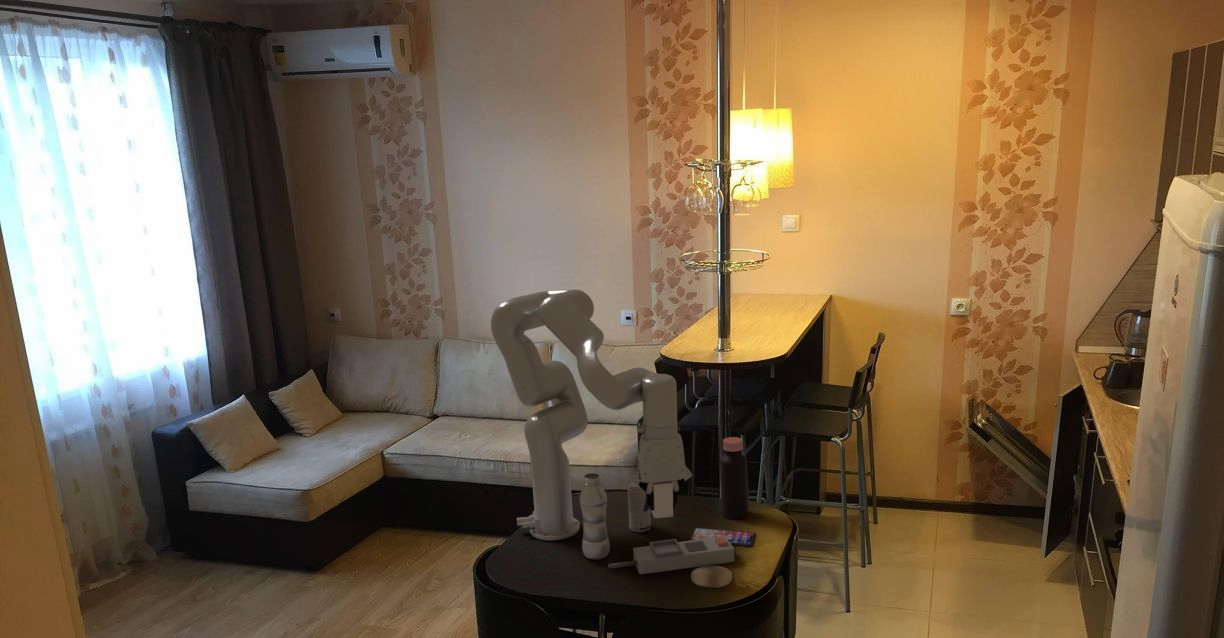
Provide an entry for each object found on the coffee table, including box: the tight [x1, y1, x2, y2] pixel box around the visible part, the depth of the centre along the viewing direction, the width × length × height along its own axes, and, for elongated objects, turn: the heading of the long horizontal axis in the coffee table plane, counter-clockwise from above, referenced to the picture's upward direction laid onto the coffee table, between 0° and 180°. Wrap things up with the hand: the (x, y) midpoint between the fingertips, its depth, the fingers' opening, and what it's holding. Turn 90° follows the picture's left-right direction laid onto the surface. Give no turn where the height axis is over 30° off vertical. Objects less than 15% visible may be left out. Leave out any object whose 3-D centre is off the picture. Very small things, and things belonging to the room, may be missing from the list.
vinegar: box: [719, 436, 749, 520], centre depth 213 cm, size 7×7×20 cm
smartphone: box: [689, 527, 756, 548], centre depth 202 cm, size 8×1×15 cm
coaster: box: [690, 564, 733, 589], centre depth 184 cm, size 9×9×1 cm
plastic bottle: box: [579, 472, 611, 561], centre depth 195 cm, size 6×7×20 cm
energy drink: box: [627, 478, 652, 533], centre depth 209 cm, size 5×5×12 cm
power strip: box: [607, 536, 735, 575], centre depth 191 cm, size 28×7×4 cm, turn 100°
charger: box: [650, 481, 674, 519], centre depth 189 cm, size 4×4×8 cm
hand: (661, 506), depth 189 cm, fingers closed on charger, 4 cm apart
